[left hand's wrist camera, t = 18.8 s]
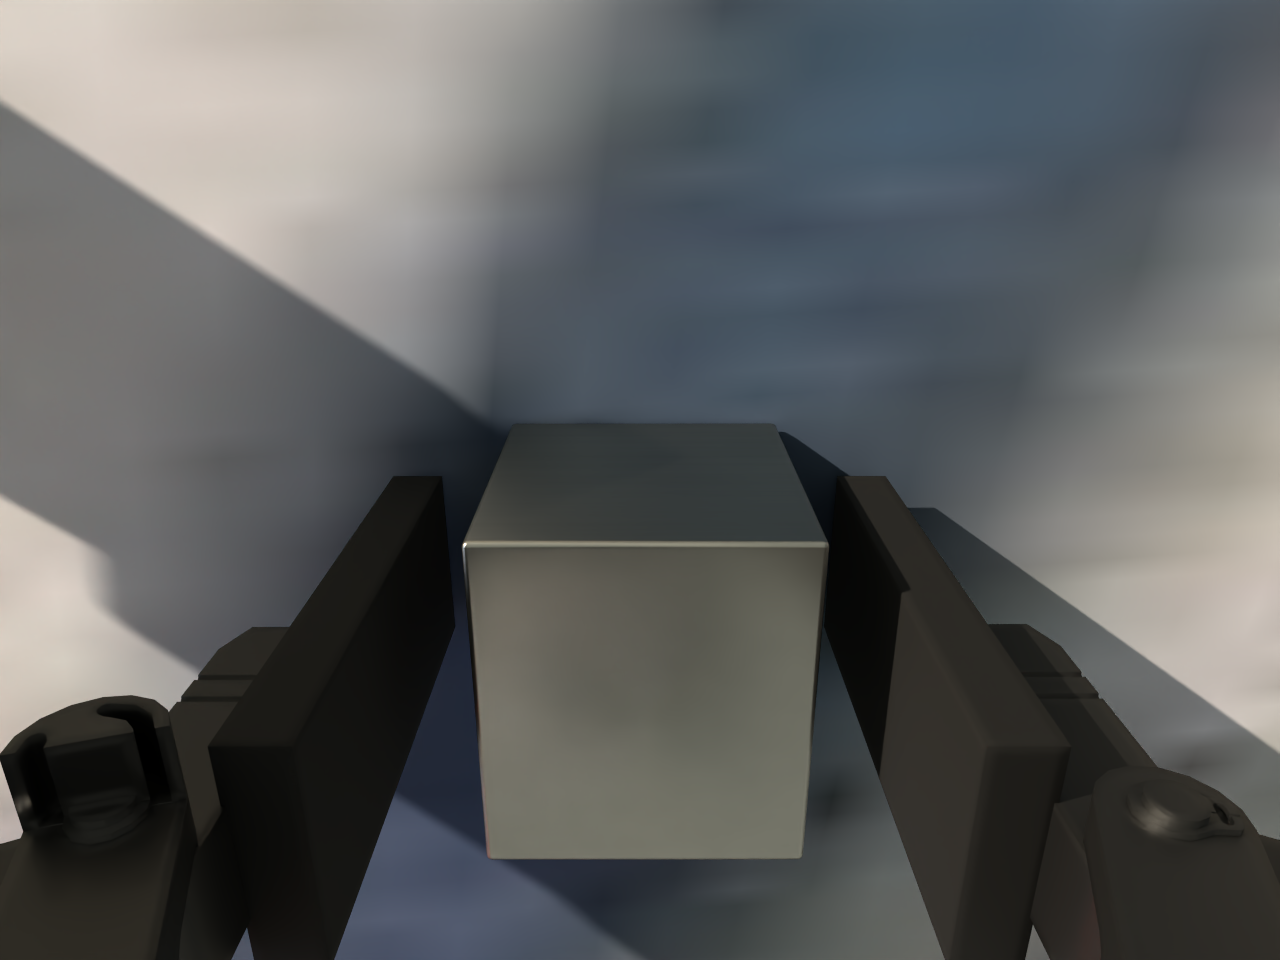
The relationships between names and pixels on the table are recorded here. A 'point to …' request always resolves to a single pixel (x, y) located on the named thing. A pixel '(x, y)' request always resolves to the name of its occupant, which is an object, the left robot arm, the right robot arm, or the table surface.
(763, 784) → the grey block
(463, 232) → the table surface
